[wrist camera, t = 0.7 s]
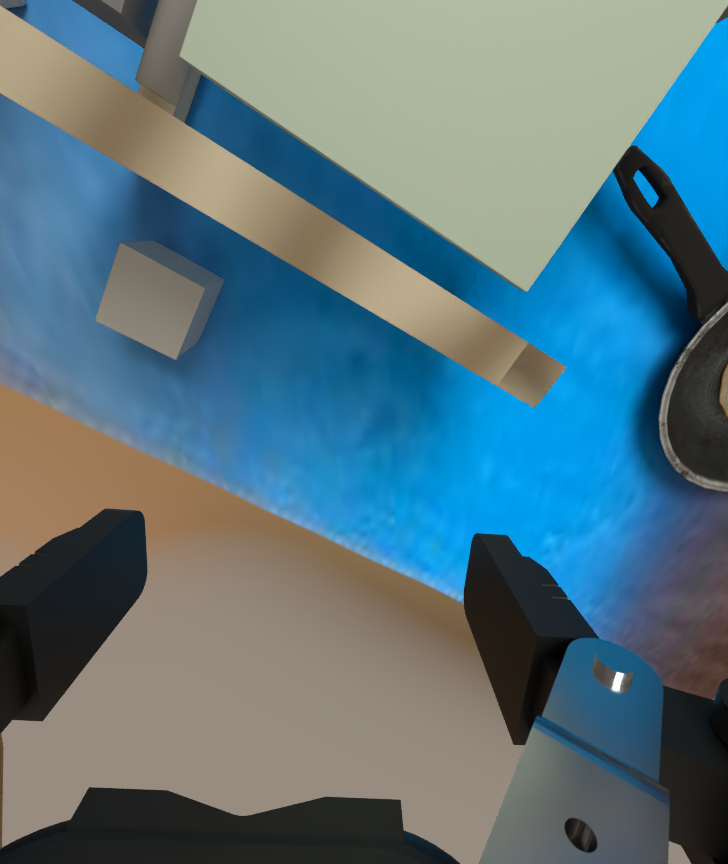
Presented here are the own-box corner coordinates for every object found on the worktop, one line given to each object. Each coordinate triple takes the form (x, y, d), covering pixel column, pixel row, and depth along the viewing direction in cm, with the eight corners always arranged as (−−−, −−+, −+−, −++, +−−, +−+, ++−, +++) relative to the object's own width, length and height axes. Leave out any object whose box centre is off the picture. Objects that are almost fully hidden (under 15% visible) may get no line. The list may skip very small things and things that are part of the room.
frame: (140, 140, 26) (-103, 32, 12) (273, -288, 20) (94, -1733, 5) (446, 327, 32) (534, 408, 18) (627, 48, 26) (1002, -185, 11)
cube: (130, 306, 30) (95, 320, 26) (154, 240, 29) (120, 242, 24) (198, 341, 32) (175, 360, 27) (225, 279, 30) (205, 288, 25)
